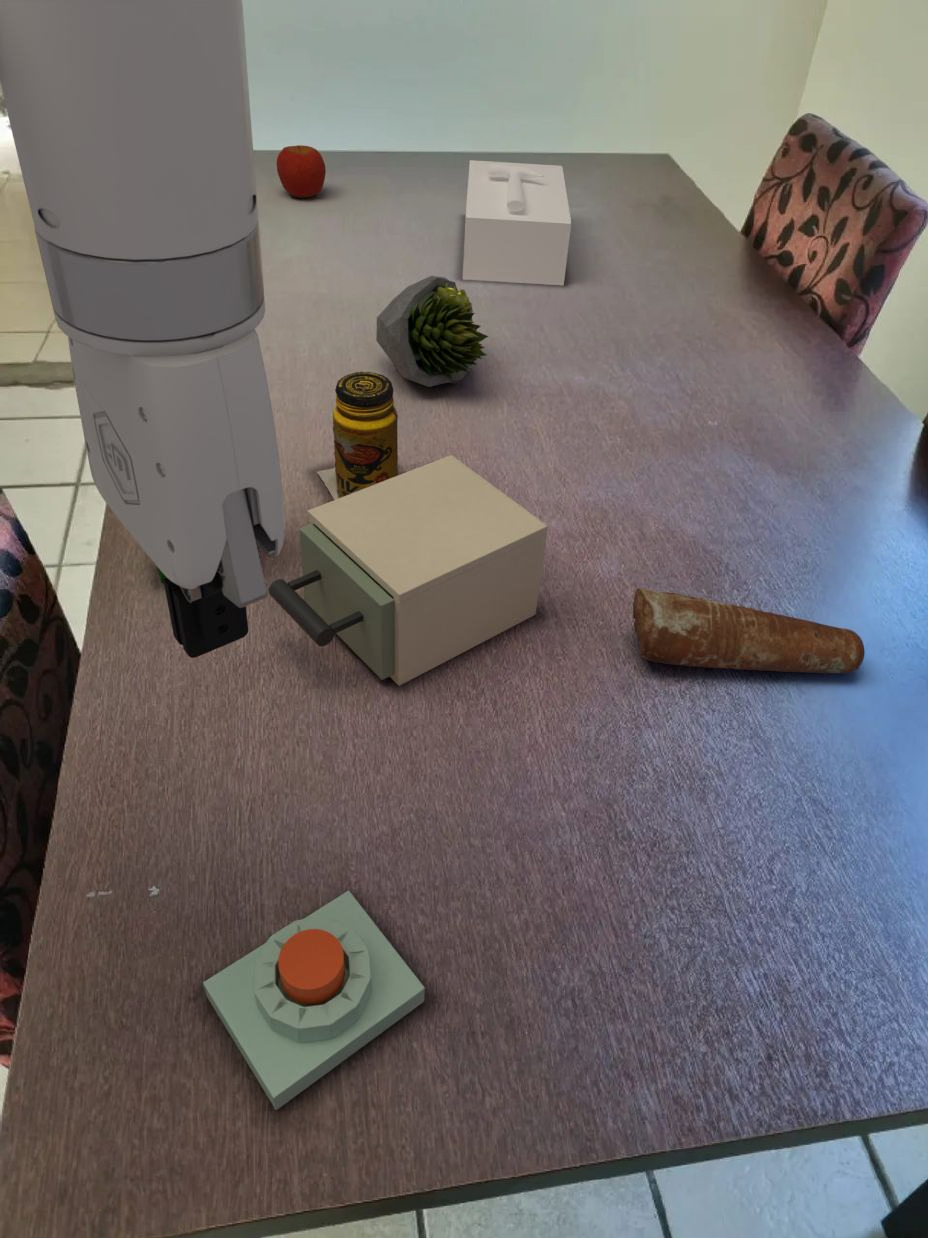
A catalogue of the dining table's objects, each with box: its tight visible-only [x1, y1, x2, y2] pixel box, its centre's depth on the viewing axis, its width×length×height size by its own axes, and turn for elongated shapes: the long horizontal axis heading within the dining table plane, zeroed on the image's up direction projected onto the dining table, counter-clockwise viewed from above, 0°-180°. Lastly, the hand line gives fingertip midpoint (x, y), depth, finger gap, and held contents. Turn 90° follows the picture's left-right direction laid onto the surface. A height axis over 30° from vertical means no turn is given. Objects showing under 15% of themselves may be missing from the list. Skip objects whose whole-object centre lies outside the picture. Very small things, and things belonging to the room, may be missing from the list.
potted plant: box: [376, 275, 490, 388], centre depth 108 cm, size 12×13×15 cm
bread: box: [632, 587, 866, 674], centre depth 76 cm, size 6×19×6 cm, turn 84°
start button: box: [278, 929, 345, 1004], centre depth 53 cm, size 4×4×2 cm
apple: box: [276, 144, 327, 199], centre depth 153 cm, size 8×8×8 cm
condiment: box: [316, 371, 399, 501], centre depth 90 cm, size 7×8×12 cm
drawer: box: [268, 524, 394, 681], centre depth 76 cm, size 18×11×8 cm, turn 129°
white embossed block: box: [462, 159, 572, 287], centre depth 139 cm, size 14×25×11 cm, turn 178°
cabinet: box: [307, 454, 548, 687], centre depth 78 cm, size 15×13×10 cm
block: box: [202, 890, 426, 1111], centre depth 54 cm, size 10×8×4 cm
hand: (212, 637), depth 46 cm, fingers closed
